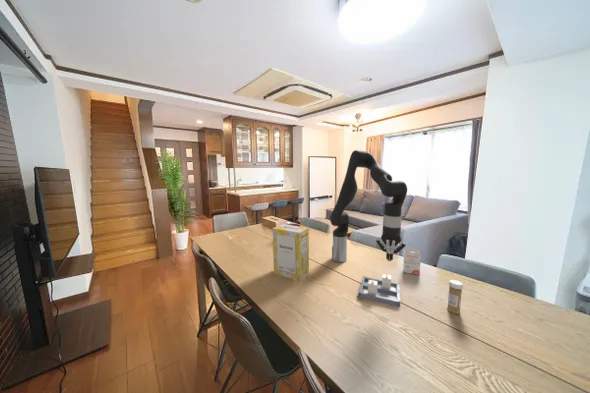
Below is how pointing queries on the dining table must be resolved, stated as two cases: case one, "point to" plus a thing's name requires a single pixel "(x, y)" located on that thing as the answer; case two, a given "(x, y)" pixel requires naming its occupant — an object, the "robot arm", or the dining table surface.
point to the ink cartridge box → (412, 261)
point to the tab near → (372, 287)
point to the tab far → (386, 281)
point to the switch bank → (380, 292)
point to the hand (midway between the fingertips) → (389, 260)
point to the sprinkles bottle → (454, 296)
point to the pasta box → (291, 251)
